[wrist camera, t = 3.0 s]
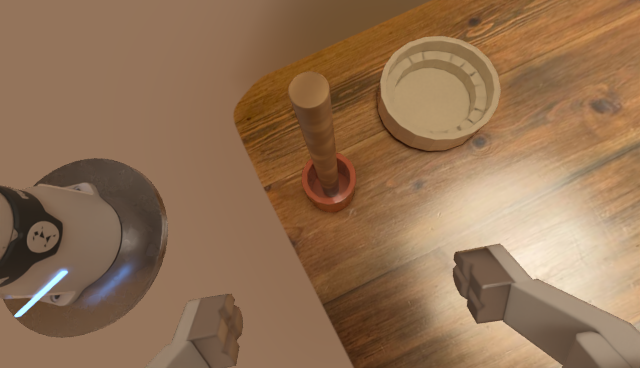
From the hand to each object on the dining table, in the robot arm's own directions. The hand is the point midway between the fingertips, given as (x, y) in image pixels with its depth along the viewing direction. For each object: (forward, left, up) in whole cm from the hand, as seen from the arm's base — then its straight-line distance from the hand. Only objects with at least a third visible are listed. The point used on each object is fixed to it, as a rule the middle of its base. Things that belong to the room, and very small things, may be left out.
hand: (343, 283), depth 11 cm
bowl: (+13, +23, -30) cm, 41 cm away
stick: (-2, +10, -30) cm, 32 cm away
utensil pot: (-2, +10, -30) cm, 32 cm away
